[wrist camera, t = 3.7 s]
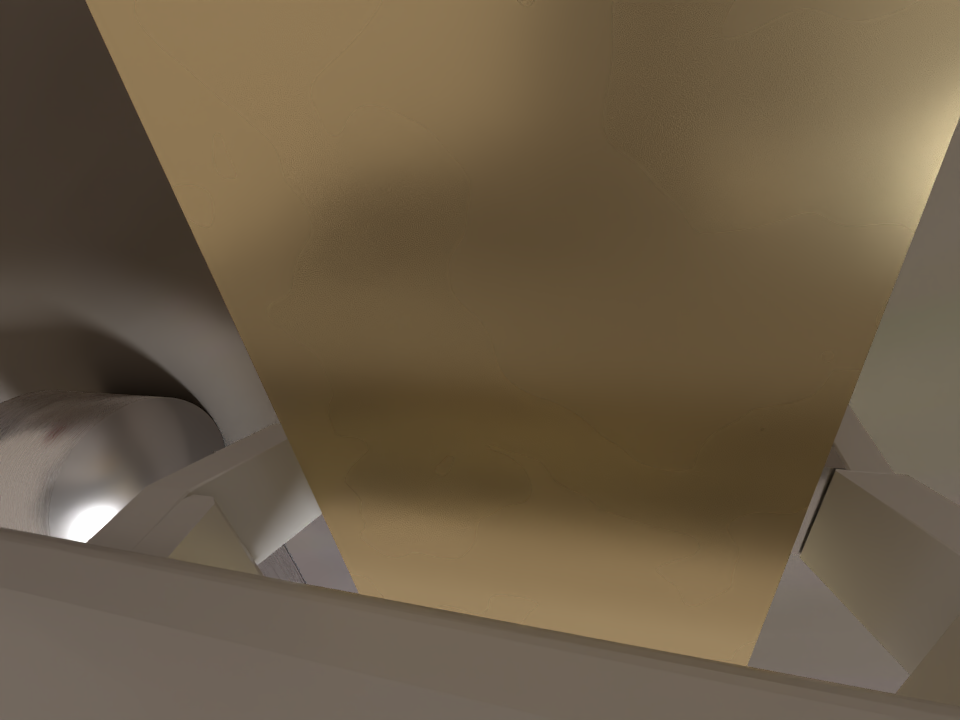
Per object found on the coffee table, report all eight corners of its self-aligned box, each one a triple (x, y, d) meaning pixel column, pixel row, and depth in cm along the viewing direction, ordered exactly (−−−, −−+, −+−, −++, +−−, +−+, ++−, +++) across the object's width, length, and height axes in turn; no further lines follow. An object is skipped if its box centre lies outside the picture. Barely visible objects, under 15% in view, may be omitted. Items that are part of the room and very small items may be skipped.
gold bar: (478, 566, 16) (429, 746, 12) (365, 24, 8) (82, -5, 4) (667, 596, 14) (688, 817, 10) (777, -53, 6) (1106, -264, 2)
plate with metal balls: (87, 582, 26) (-11, 680, 22) (-145, 349, 18) (-368, 437, 14) (335, 636, 22) (270, 769, 18) (181, 362, 13) (-4, 496, 9)
